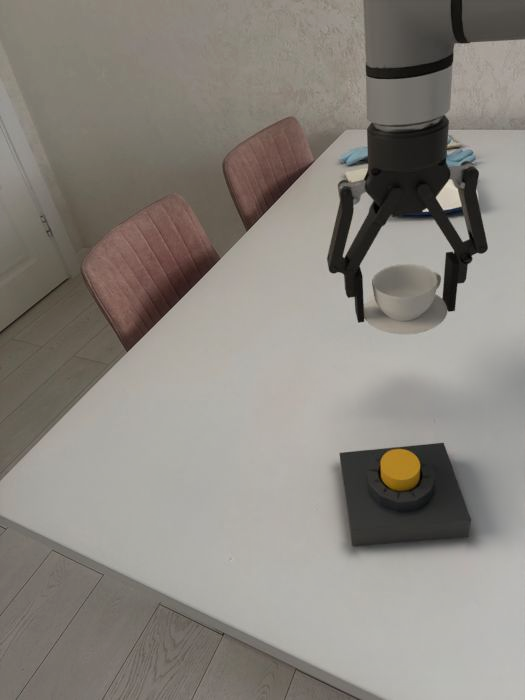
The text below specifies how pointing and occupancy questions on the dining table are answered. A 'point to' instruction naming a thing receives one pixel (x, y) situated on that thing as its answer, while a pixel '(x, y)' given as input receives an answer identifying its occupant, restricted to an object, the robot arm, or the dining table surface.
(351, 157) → the rubber gloves
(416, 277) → the teacup
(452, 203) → the plate
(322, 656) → the dining table surface
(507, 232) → the dining table surface
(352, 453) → the yellow button cap base
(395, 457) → the yellow button cap
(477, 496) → the dining table surface
